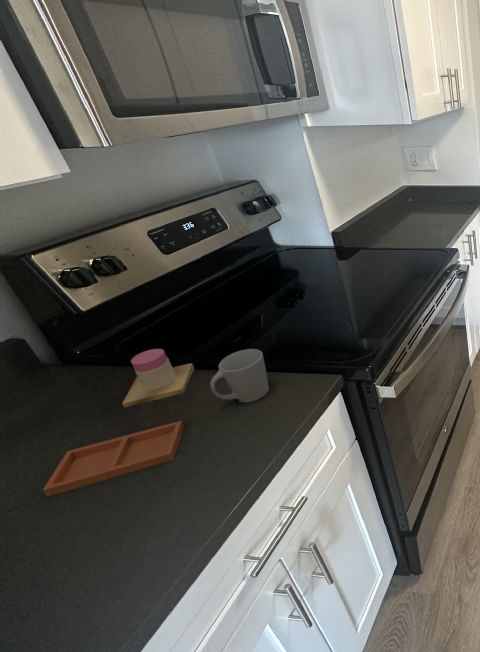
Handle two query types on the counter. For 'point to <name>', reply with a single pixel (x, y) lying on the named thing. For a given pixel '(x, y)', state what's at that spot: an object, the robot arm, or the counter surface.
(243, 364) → the cup
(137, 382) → the board
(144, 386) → the pink lidded jar
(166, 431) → the divided tray
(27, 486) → the counter surface
